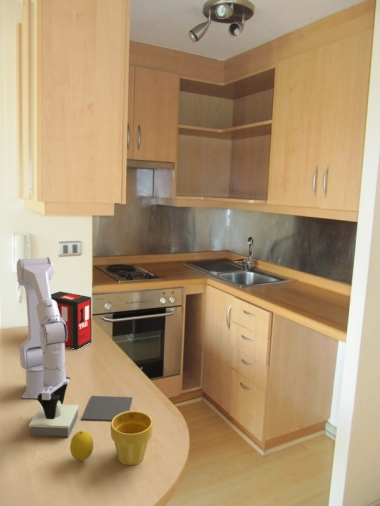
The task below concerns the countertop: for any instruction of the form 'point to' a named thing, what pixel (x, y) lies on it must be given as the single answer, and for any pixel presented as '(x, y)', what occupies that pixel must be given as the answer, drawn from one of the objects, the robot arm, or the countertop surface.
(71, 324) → the cleaning product box
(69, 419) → the lid
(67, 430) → the storage box
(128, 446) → the plant pot
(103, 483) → the countertop surface
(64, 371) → the robot arm
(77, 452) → the lemon
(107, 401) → the mat
